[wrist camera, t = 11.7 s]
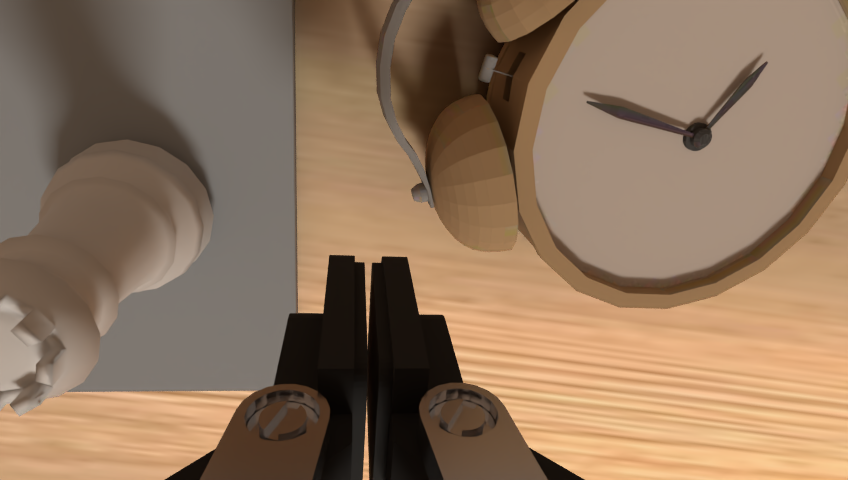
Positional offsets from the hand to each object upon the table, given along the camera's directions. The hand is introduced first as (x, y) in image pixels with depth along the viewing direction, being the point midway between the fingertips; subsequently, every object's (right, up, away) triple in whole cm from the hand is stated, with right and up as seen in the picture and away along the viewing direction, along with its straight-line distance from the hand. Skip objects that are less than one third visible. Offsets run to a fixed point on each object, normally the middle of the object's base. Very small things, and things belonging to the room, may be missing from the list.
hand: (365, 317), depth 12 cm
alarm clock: (+7, +6, +6) cm, 11 cm away
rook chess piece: (-7, +3, +5) cm, 9 cm away
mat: (-10, +3, +5) cm, 12 cm away
